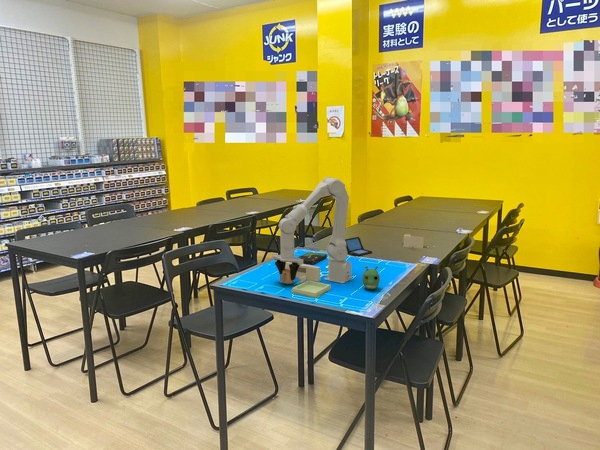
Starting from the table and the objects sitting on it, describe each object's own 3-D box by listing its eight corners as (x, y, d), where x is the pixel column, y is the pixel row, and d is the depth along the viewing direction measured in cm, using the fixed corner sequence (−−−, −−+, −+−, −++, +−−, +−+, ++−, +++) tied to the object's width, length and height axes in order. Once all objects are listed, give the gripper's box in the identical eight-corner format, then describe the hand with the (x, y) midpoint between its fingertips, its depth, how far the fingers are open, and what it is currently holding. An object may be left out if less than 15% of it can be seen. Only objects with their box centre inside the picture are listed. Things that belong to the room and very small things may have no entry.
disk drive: (313, 266, 216) (327, 259, 229) (313, 261, 216) (327, 253, 228) (294, 263, 222) (309, 256, 234) (294, 258, 221) (309, 251, 234)
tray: (330, 289, 182) (330, 284, 182) (315, 298, 172) (315, 293, 172) (307, 284, 188) (307, 280, 188) (292, 293, 178) (292, 288, 178)
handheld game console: (356, 257, 231) (357, 243, 230) (342, 253, 239) (342, 239, 238) (373, 253, 239) (373, 239, 237) (358, 249, 247) (358, 236, 246)
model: (403, 246, 255) (404, 233, 253) (423, 247, 252) (424, 234, 250) (403, 247, 252) (403, 234, 250) (423, 249, 249) (423, 235, 247)
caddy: (296, 281, 190) (296, 269, 189) (286, 285, 184) (286, 274, 183) (286, 279, 192) (286, 268, 191) (276, 283, 186) (276, 272, 185)
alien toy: (361, 292, 179) (362, 268, 177) (362, 285, 186) (362, 262, 185) (379, 293, 178) (380, 268, 176) (379, 286, 185) (380, 263, 183)
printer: (320, 280, 193) (320, 267, 192) (311, 285, 188) (311, 271, 186) (285, 273, 203) (285, 261, 202) (276, 277, 197) (276, 264, 196)
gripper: (267, 246, 186) (268, 278, 189) (296, 251, 179) (296, 284, 181) (277, 243, 192) (278, 274, 195) (306, 247, 184) (306, 279, 187)
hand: (287, 278), depth 188 cm, fingers closed on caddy, 5 cm apart
